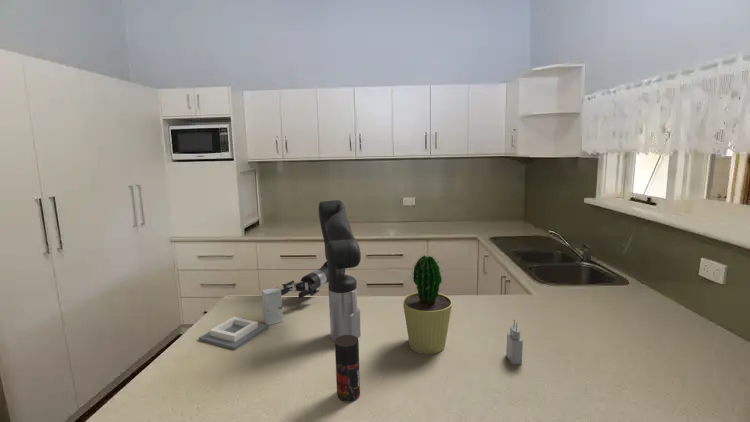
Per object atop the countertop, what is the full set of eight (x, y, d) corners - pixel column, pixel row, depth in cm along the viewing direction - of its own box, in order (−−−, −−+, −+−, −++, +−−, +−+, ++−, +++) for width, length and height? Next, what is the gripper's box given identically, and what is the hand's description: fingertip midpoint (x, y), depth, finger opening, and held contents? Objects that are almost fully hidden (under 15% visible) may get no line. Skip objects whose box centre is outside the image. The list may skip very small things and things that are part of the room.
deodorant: (337, 388, 102) (335, 335, 99) (359, 386, 102) (358, 334, 100) (336, 403, 96) (334, 347, 93) (360, 401, 96) (359, 345, 94)
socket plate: (268, 328, 136) (268, 320, 136) (234, 350, 122) (234, 341, 122) (234, 320, 143) (234, 312, 143) (199, 340, 129) (198, 331, 128)
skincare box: (267, 326, 138) (264, 294, 136) (263, 321, 142) (260, 290, 140) (283, 321, 142) (281, 290, 139) (279, 317, 145) (277, 286, 143)
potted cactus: (461, 343, 123) (462, 252, 118) (433, 363, 112) (434, 264, 107) (422, 328, 134) (422, 244, 129) (393, 345, 123) (392, 255, 118)
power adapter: (515, 353, 117) (517, 316, 115) (522, 363, 111) (524, 325, 109) (505, 354, 116) (506, 317, 114) (512, 364, 111) (513, 325, 109)
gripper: (299, 270, 167) (275, 282, 152) (327, 274, 161) (304, 287, 146) (300, 287, 168) (276, 300, 154) (328, 291, 162) (305, 306, 148)
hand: (290, 294), depth 150 cm, fingers open, 8 cm apart
